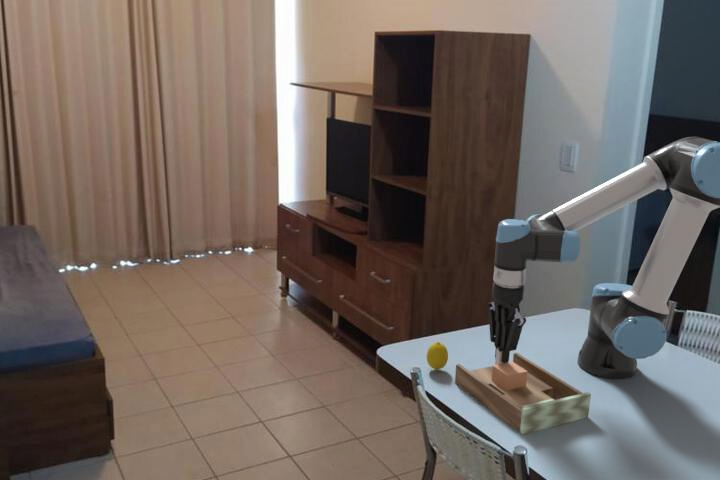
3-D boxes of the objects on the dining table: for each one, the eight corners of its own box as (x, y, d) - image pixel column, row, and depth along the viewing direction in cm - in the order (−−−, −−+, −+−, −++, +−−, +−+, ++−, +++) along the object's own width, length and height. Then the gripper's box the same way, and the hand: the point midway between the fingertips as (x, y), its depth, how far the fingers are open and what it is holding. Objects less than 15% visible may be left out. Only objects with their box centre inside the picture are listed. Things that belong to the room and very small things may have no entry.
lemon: (446, 376, 183) (448, 347, 181) (424, 373, 184) (426, 345, 182) (447, 366, 188) (449, 339, 186) (427, 364, 189) (428, 336, 187)
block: (511, 376, 178) (512, 361, 177) (526, 386, 173) (527, 371, 172) (491, 380, 176) (492, 365, 175) (505, 390, 171) (507, 375, 170)
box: (515, 369, 188) (517, 349, 186) (588, 417, 164) (591, 393, 163) (454, 382, 180) (456, 361, 178) (522, 434, 156) (525, 410, 155)
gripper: (480, 277, 175) (473, 364, 182) (512, 293, 164) (504, 386, 170) (504, 273, 179) (497, 359, 185) (538, 289, 167) (529, 380, 174)
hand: (500, 372), depth 178 cm, fingers closed
